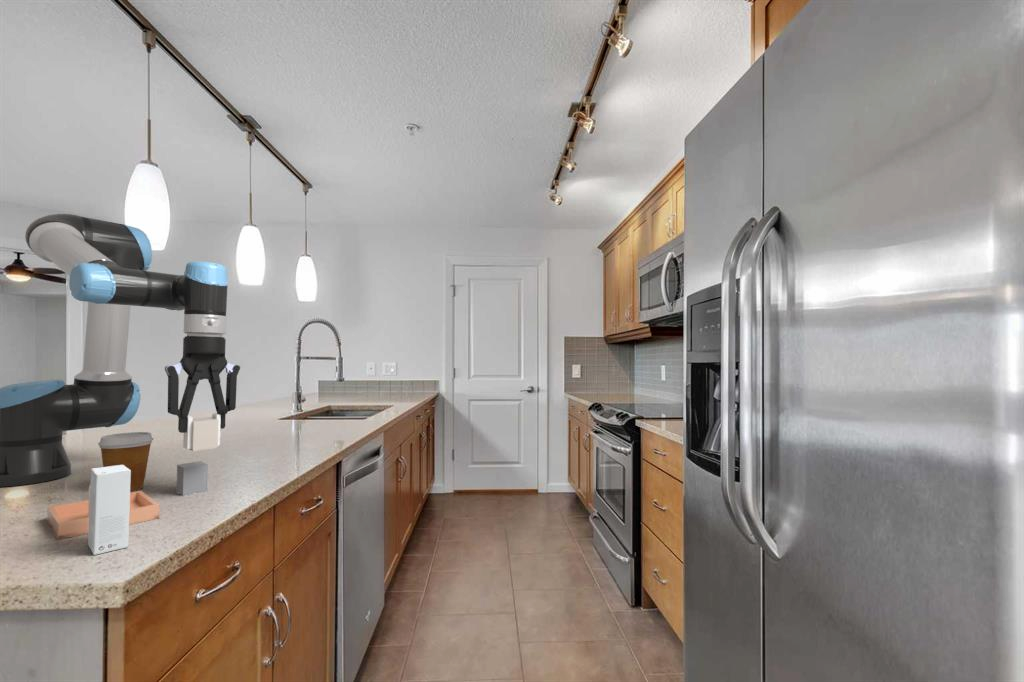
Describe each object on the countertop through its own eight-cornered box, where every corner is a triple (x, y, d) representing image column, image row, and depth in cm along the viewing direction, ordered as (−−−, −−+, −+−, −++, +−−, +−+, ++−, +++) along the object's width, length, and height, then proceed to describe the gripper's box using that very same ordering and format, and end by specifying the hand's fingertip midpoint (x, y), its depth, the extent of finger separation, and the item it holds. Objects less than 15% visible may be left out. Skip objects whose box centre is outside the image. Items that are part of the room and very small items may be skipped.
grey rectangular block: (176, 492, 102) (177, 464, 103) (200, 488, 106) (200, 461, 106) (183, 496, 99) (183, 467, 100) (207, 491, 103) (207, 464, 103)
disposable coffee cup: (128, 496, 99) (130, 439, 100) (84, 496, 99) (85, 438, 100) (162, 484, 109) (164, 431, 109) (122, 483, 109) (123, 431, 109)
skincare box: (129, 547, 73) (131, 469, 73) (93, 556, 70) (95, 474, 70) (122, 537, 77) (124, 463, 77) (87, 545, 74) (89, 468, 74)
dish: (47, 521, 84) (47, 506, 84) (140, 503, 95) (140, 490, 95) (58, 540, 76) (58, 524, 76) (159, 518, 86) (159, 504, 86)
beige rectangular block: (185, 448, 99) (186, 419, 99) (210, 445, 102) (210, 417, 103) (192, 451, 96) (193, 421, 96) (217, 447, 99) (218, 419, 100)
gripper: (159, 333, 91) (155, 455, 90) (256, 336, 104) (253, 442, 104) (149, 334, 95) (145, 449, 95) (242, 337, 109) (239, 438, 108)
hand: (201, 446), depth 99 cm, fingers closed on beige rectangular block, 4 cm apart
